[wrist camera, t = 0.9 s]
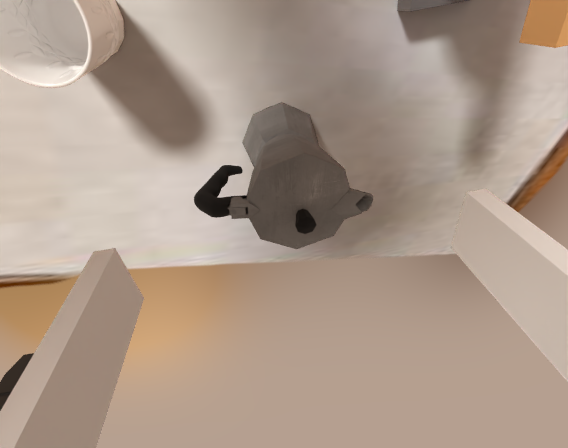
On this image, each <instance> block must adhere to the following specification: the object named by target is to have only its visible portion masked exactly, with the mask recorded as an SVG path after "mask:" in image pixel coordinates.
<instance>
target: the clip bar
mask: <svg viewBox="0 0 568 448" xmlns="http://www.w3.org/2000/svg"><path fill="white" fill-rule="evenodd" d="M519 43H526V44H533V45H540V46H547V47H554V48H556V47H562V46H567V45H568V0H531V1H530V4H529V8H528V12H527V16H526V19H525V23H524V27H523V30H522V34H521V38H520V42H519Z"/></svg>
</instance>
